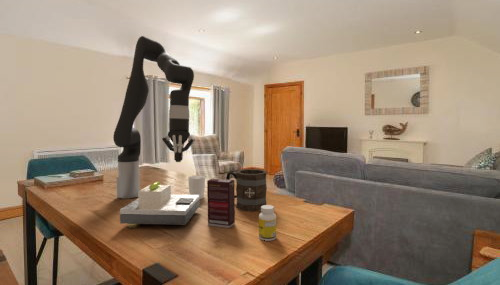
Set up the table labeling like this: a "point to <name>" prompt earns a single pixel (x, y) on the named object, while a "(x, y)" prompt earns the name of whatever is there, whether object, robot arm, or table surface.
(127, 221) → the grey tray
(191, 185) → the white cup
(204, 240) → the table surface
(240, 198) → the mug
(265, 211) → the supplement bottle
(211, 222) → the supplement box
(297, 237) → the table surface
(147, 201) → the plate
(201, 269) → the table surface
